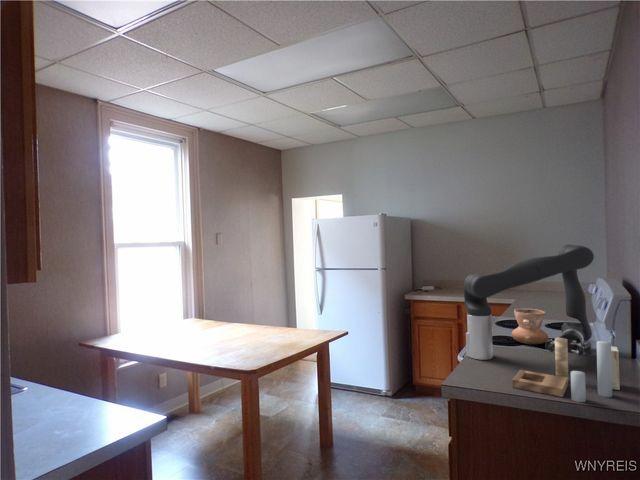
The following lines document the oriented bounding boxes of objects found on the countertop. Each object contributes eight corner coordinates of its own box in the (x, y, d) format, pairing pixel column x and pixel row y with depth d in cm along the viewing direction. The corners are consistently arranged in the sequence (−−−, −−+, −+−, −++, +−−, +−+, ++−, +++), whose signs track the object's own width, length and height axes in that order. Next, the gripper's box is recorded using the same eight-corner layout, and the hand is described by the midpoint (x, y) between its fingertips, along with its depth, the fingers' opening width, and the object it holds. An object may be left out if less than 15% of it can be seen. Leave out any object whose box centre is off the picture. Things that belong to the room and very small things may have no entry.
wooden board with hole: (512, 387, 130) (512, 379, 130) (520, 376, 139) (520, 369, 139) (562, 397, 121) (562, 388, 121) (567, 385, 130) (567, 377, 130)
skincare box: (620, 390, 124) (619, 351, 124) (603, 388, 127) (602, 349, 127) (618, 383, 130) (617, 346, 130) (601, 381, 132) (600, 344, 132)
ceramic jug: (545, 349, 168) (544, 315, 168) (507, 344, 177) (507, 312, 177) (551, 340, 182) (551, 308, 182) (516, 335, 191) (516, 305, 191)
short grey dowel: (570, 400, 119) (569, 373, 119) (572, 396, 122) (571, 370, 122) (585, 403, 117) (584, 375, 117) (586, 398, 120) (585, 372, 120)
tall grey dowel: (597, 395, 122) (596, 343, 121) (598, 391, 124) (597, 340, 124) (612, 398, 119) (610, 344, 119) (612, 394, 122) (611, 341, 122)
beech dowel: (555, 381, 134) (553, 339, 134) (556, 378, 137) (555, 337, 136) (567, 383, 132) (566, 341, 131) (569, 380, 134) (568, 338, 134)
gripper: (549, 328, 158) (542, 337, 146) (593, 332, 150) (589, 343, 137) (550, 347, 158) (542, 358, 146) (593, 353, 150) (590, 365, 137)
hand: (565, 351), depth 141 cm, fingers open, 8 cm apart
